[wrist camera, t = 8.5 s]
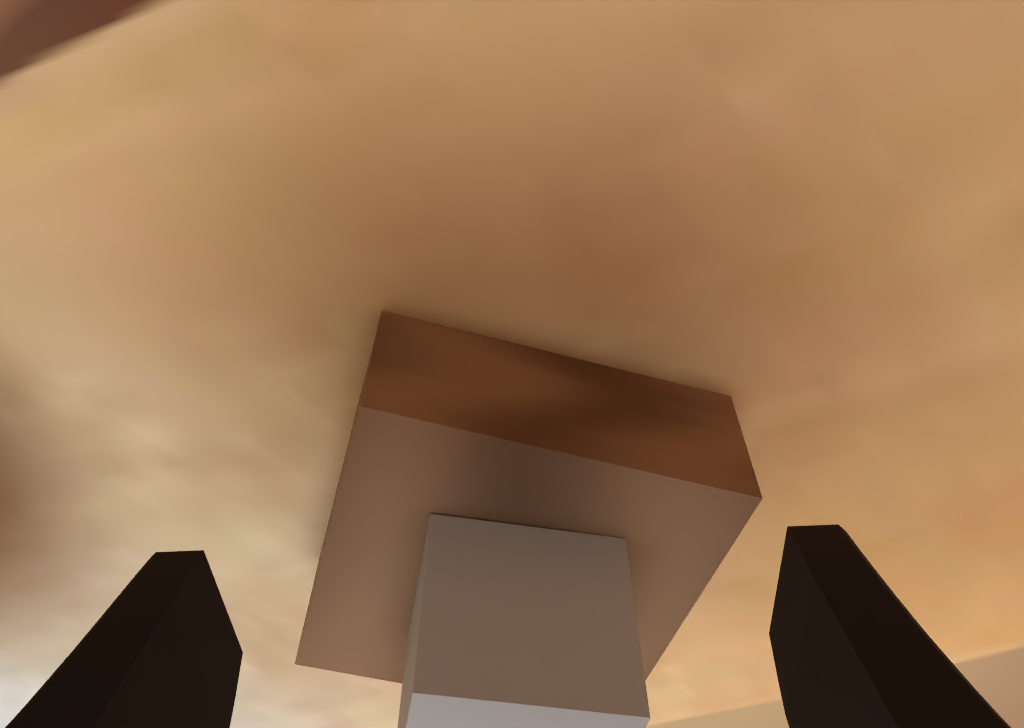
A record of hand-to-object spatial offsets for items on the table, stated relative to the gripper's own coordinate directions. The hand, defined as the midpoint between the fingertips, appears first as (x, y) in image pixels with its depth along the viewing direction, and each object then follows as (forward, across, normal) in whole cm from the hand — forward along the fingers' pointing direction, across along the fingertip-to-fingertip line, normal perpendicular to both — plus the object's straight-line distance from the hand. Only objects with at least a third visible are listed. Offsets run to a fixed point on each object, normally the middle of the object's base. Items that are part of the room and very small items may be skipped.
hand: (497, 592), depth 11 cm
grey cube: (+7, 0, +8) cm, 11 cm away
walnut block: (+11, 0, +8) cm, 14 cm away
